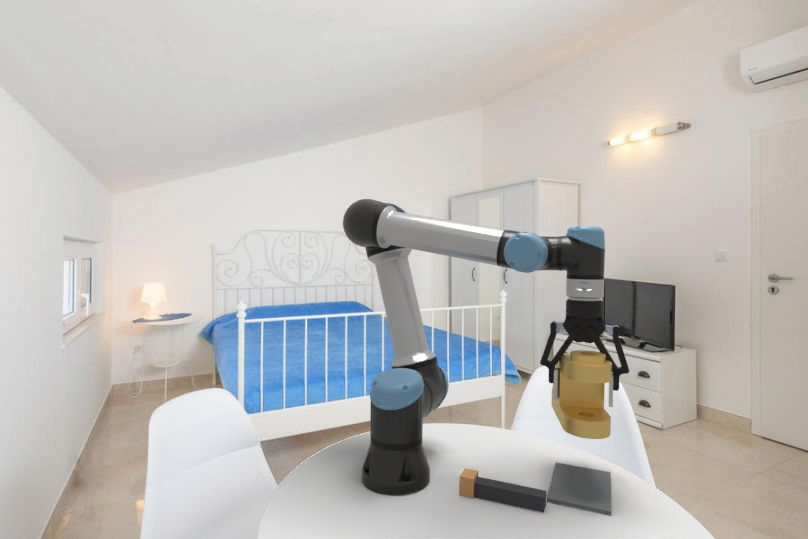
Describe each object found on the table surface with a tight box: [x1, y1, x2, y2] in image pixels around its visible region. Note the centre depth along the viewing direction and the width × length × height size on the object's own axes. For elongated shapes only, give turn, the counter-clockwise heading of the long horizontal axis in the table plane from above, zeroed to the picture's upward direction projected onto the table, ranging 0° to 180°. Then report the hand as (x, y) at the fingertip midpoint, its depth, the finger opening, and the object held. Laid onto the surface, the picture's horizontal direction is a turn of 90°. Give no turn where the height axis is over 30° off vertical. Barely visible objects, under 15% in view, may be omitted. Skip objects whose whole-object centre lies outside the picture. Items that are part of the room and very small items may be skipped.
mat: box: [546, 461, 612, 516], centre depth 99 cm, size 12×18×1 cm, turn 156°
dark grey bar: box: [458, 468, 547, 514], centre depth 94 cm, size 17×4×4 cm, turn 66°
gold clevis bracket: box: [551, 349, 613, 440], centre depth 100 cm, size 20×9×16 cm, turn 171°
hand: (582, 401), depth 99 cm, fingers closed on gold clevis bracket, 10 cm apart
